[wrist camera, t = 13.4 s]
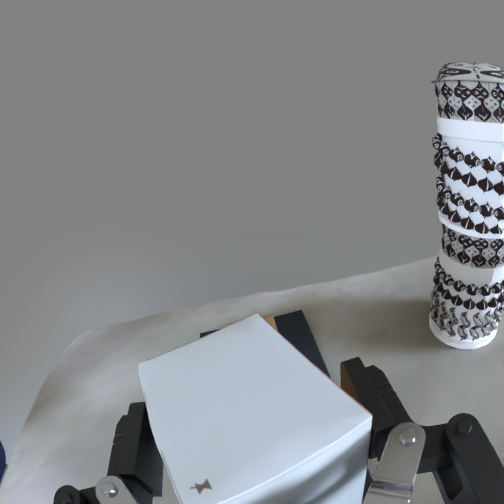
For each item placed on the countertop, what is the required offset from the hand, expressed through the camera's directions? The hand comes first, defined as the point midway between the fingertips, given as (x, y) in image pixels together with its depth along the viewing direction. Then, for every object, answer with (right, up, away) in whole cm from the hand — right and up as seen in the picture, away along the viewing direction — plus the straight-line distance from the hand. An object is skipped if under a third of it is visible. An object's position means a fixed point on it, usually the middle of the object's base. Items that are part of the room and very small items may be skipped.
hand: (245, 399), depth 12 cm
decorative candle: (+23, -2, +15) cm, 27 cm away
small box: (+2, -11, +3) cm, 12 cm away
